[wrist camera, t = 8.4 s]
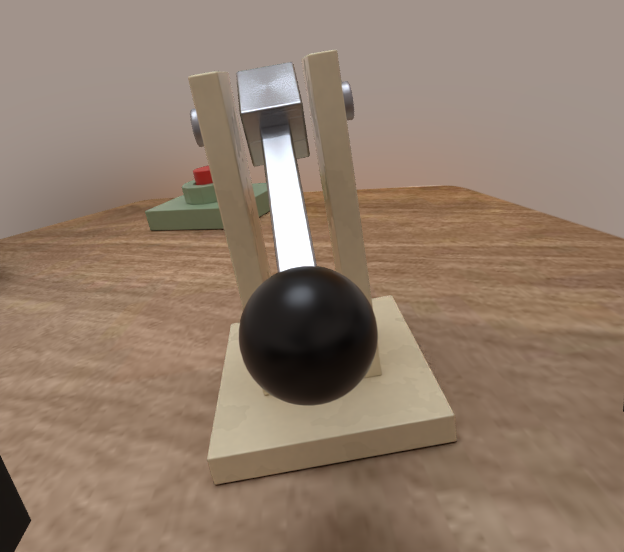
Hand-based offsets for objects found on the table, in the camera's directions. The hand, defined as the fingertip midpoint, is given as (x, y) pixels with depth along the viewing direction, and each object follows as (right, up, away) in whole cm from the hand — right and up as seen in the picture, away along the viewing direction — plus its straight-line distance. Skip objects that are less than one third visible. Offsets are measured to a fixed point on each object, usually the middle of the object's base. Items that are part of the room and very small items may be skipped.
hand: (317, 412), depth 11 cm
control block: (-10, +10, +48) cm, 50 cm away
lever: (-1, +4, +7) cm, 8 cm away
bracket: (0, -2, +14) cm, 14 cm away
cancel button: (-11, +13, +47) cm, 50 cm away
